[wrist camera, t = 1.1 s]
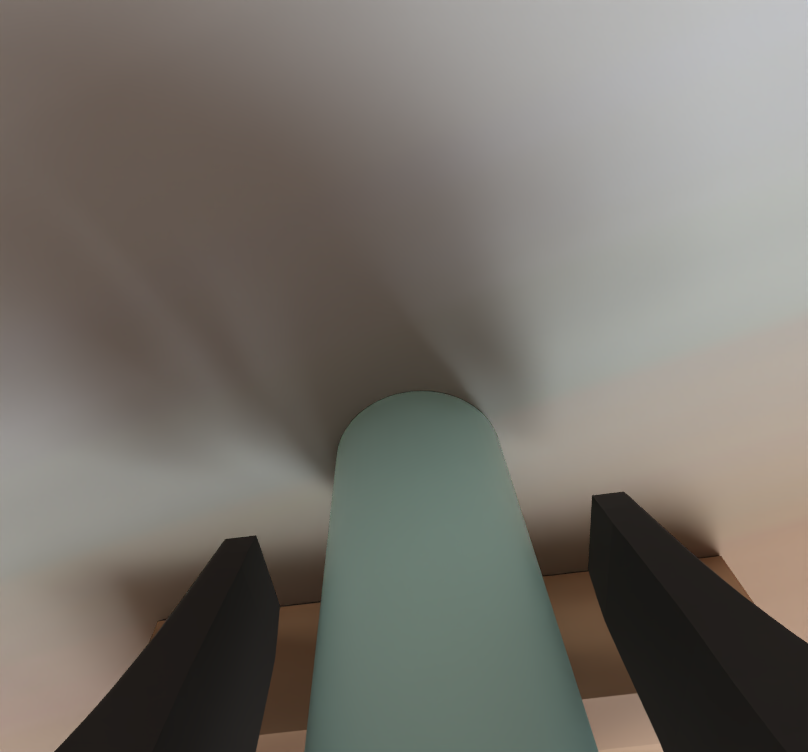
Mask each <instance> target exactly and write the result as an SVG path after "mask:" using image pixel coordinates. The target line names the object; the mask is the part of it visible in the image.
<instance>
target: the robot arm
mask: <svg viewBox="0 0 808 752" xmlns="http://www.w3.org/2000/svg"><path fill="white" fill-rule="evenodd" d="M588 571H589V575H590V578H591V581H592V584H593V587H594V590H595V594H596V597H597V600H598V603H599V606H600V609H601V612H602V615H603V618H604V621H605V623H606V625H607V628H608V630H609V632H610V634H611V637H612V639H613V641H614V643H615V645H616V648H617V650H618V652H619V654H620V657H621V659H622V661H623V663H624V665H625V668H626V670H627V672H628V674H629V676H630V678H631V681H632V683H633V685H634V687H635V689H636V692H637V694H638V696H639V698H640V700H641V702H642V705H643V707H644V709H645V711H646V713H647V716H648V718H649V720H650V722H651V724H652V727H653V729H654V731H655V733H656V735H657V737H658V740H659V742H660V744H661V747H662V749H663V752H808V643H807V642H805V641H804V640H802V639H801V638H799V637H798V636H796V635H795V634H794V633H792V632H791V631H789V630H788V629H787V628H785V627H784V626H783V625H781V624H780V623H778V622H777V621H776V620H774V619H773V618H772V617H770V616H769V615H768V614H766V613H765V612H764V611H763V610H761V609H760V608H759V607H757V606H756V605H755V604H754V603H752V602H751V601H750V600H748V599H747V598H746V597H744V596H743V595H742V594H741V593H739V592H738V591H737V590H736V589H734V588H733V587H732V586H731V585H729V584H728V583H727V582H726V581H724V580H723V579H722V578H721V577H720V576H719V575H717V574H716V573H715V572H714V571H713V570H711V569H710V568H709V567H708V566H707V565H705V564H704V563H703V562H702V561H701V560H700V559H698V558H697V557H696V556H695V555H694V554H692V553H691V552H690V551H689V550H688V549H687V548H686V547H684V546H683V545H682V544H681V543H680V542H679V541H678V540H677V539H675V538H674V537H673V536H672V535H671V534H670V533H669V532H668V531H667V530H665V529H664V528H663V527H662V526H661V525H660V524H659V523H658V522H657V521H656V520H655V519H653V518H652V517H651V516H650V515H649V514H648V513H647V512H646V511H645V510H644V509H643V508H642V507H640V506H639V505H638V504H637V503H636V502H635V501H634V500H633V499H632V498H631V497H630V496H628V495H627V494H626V493H625V492H618V493H609V494H601V495H592V507H591V526H590V544H589V562H588ZM279 611H280V605H279V602H278V599H277V596H276V593H275V590H274V587H273V584H272V581H271V578H270V575H269V572H268V569H267V566H266V563H265V560H264V557H263V554H262V551H261V548H260V545H259V542H258V539H257V536H248V537H240V538H231V539H226V540H225V541H224V542H223V543H222V544H221V546H220V547H219V548H218V550H217V551H216V553H215V554H214V555H213V557H212V558H211V560H210V561H209V562H208V564H207V565H206V567H205V568H204V569H203V571H202V572H201V574H200V575H199V576H198V578H197V579H196V581H195V582H194V583H193V585H192V586H191V588H190V589H189V590H188V592H187V593H186V595H185V596H184V597H183V599H182V600H181V601H180V603H179V604H178V606H177V607H176V608H175V609H174V611H173V612H172V613H171V615H170V616H169V617H168V619H167V620H166V621H165V623H164V624H163V625H162V627H161V628H160V629H159V631H158V632H157V633H156V635H155V636H154V637H153V639H152V640H151V641H150V642H149V644H148V645H147V646H146V648H145V649H144V650H143V651H142V652H141V654H140V655H139V656H138V657H137V659H136V660H135V661H134V662H133V663H132V665H131V666H130V667H129V668H128V670H127V671H126V672H125V673H124V674H123V676H122V677H121V678H120V679H119V681H118V682H117V683H116V684H115V685H114V687H113V688H112V689H111V690H110V691H109V692H108V694H107V695H106V696H105V697H104V698H103V699H102V700H101V702H100V703H99V704H98V705H97V706H96V707H95V708H94V710H93V711H92V712H91V713H90V714H89V715H88V716H87V717H86V719H85V720H84V721H83V722H82V723H81V724H80V725H79V726H78V727H77V728H76V729H75V730H74V731H73V733H72V734H71V735H70V736H69V737H68V738H67V739H66V740H65V741H64V742H63V743H62V744H61V745H60V746H59V747H58V748H57V749H56V750H55V751H54V752H256V749H257V744H258V739H259V734H260V730H261V725H262V720H263V716H264V711H265V706H266V701H267V696H268V692H269V687H270V682H271V677H272V672H273V667H274V662H275V655H276V645H277V636H278V624H279Z"/></svg>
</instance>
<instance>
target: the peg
mask: <svg viewBox="0 0 808 752" xmlns="http://www.w3.org/2000/svg"><path fill="white" fill-rule="evenodd" d="M304 752H598V748H597V745H596V742H595V739H594V736H593V733H592V730H591V727H590V723H589V720H588V717H587V714H586V711H585V708H584V705H583V702H582V699H581V695H580V692H579V689H578V686H577V683H576V680H575V677H574V674H573V671H572V667H571V664H570V661H569V658H568V655H567V652H566V649H565V646H564V642H563V639H562V636H561V633H560V630H559V627H558V624H557V621H556V618H555V614H554V611H553V608H552V605H551V602H550V599H549V596H548V593H547V590H546V586H545V583H544V580H543V577H542V574H541V571H540V568H539V565H538V561H537V558H536V555H535V552H534V549H533V546H532V543H531V540H530V537H529V533H528V530H527V527H526V524H525V521H524V518H523V515H522V512H521V509H520V505H519V502H518V499H517V496H516V493H515V490H514V487H513V484H512V480H511V477H510V474H509V471H508V468H507V465H506V462H505V459H504V456H503V452H502V449H501V446H500V443H499V440H498V437H497V434H496V432H495V430H494V428H493V426H492V425H491V423H490V422H489V420H488V419H487V418H486V417H485V416H484V415H483V414H482V413H481V412H480V411H479V410H478V409H476V408H475V407H474V406H472V405H471V404H469V403H467V402H466V401H464V400H461V399H459V398H457V397H454V396H451V395H448V394H444V393H438V392H432V391H414V392H405V393H400V394H396V395H393V396H389V397H386V398H384V399H382V400H379V401H377V402H375V403H374V404H372V405H370V406H369V407H367V408H366V409H364V410H363V411H362V412H361V413H359V414H358V415H357V416H356V417H355V418H354V419H353V420H352V421H351V423H350V424H349V425H348V427H347V428H346V430H345V432H344V433H343V435H342V437H341V440H340V443H339V445H338V451H337V457H336V466H335V476H334V485H333V494H332V503H331V512H330V521H329V531H328V540H327V549H326V558H325V567H324V577H323V586H322V595H321V604H320V613H319V622H318V632H317V641H316V650H315V659H314V668H313V678H312V687H311V696H310V705H309V714H308V723H307V733H306V742H305V751H304Z"/></svg>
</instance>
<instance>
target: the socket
mask: <svg viewBox="0 0 808 752" xmlns="http://www.w3.org/2000/svg"><path fill="white" fill-rule="evenodd" d="M699 559H700V560H701V561H702V562H703V563H704V564H705V565H707V566H708V567H709V568H710V569H711V570H713V571H714V572H715V573H716V574H717V575H719V576H720V577H721V578H722V579H723V580H724V581H726V582H727V583H728V584H729V585H731V586H732V587H733V588H734V589H736V590H737V591H738V592H739V593H741V594H742V595H743V596H744V597H746V598H747V599H748V600H750V601H751V602H752V603H753V601H752V600H751V598H750V597H749V595H748V594H747V593H746V591H745V590H744V588H743V587H742V585H741V584H740V583H739V581H738V580H737V578H736V577H735V575H734V574H733V573H732V571H731V570H730V568H729V567H728V565H727V564H726V563H725V561H724V560H723V558H722V557H721V556H717V557H708V558H699ZM543 580H544V583H545V586H546V590H547V593H548V596H549V599H550V602H551V605H552V608H553V611H554V614H555V618H556V621H557V624H558V627H559V630H560V633H561V636H562V639H563V642H564V646H565V649H566V652H567V655H568V658H569V661H570V664H571V667H572V671H573V674H574V677H575V680H576V683H577V686H578V689H579V692H580V695H581V699H582V702H583V705H584V708H585V711H586V714H587V717H588V720H589V723H590V727H591V730H592V733H593V736H594V739H595V742H596V745H597V748H598V752H663V749H662V747H661V744H660V742H659V740H658V737H657V735H656V733H655V731H654V729H653V727H652V724H651V722H650V720H649V718H648V716H647V713H646V711H645V709H644V707H643V705H642V702H641V700H640V698H639V696H638V694H637V692H636V689H635V687H634V685H633V683H632V681H631V678H630V676H629V674H628V672H627V670H626V668H625V665H624V663H623V661H622V659H621V657H620V654H619V652H618V650H617V648H616V645H615V643H614V641H613V639H612V637H611V634H610V632H609V630H608V628H607V625H606V623H605V621H604V618H603V615H602V612H601V609H600V606H599V603H598V600H597V597H596V594H595V590H594V587H593V584H592V581H591V578H590V575H589V571H587V572H579V573H570V574H561V575H553V576H544V577H543ZM320 604H321V602H320V603H311V604H302V605H294V606H285V607H280V611H279V624H278V636H277V645H276V655H275V662H274V667H273V672H272V677H271V682H270V687H269V692H268V696H267V701H266V706H265V711H264V716H263V720H262V725H261V730H260V734H259V739H258V744H257V749H256V752H304V751H305V742H306V733H307V723H308V714H309V705H310V696H311V687H312V678H313V668H314V659H315V650H316V641H317V632H318V622H319V613H320ZM165 621H166V620H164V621H158V622H157V624H156V627H155V629H154V632H153V634H152V637H151V639H150V641H151V640H152V639H153V637H154V636H155V635H156V633H157V632H158V631H159V629H160V628H161V627H162V625H163V624H164V623H165Z"/></svg>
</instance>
